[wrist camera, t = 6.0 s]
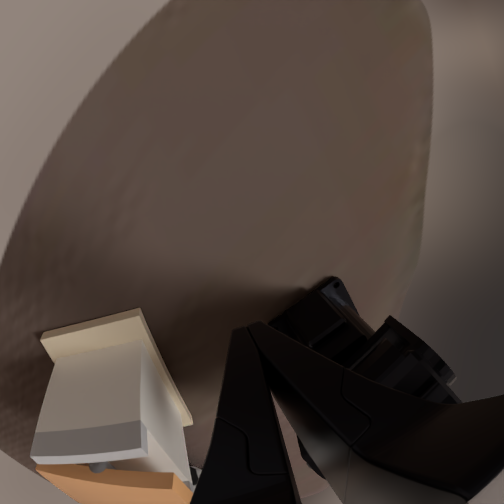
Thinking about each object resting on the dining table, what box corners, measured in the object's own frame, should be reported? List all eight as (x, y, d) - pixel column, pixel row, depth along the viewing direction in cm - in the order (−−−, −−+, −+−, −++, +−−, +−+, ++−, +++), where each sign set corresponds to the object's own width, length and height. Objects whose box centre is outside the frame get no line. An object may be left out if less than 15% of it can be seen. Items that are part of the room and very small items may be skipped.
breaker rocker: (175, 459, 13) (172, 489, 11) (203, 492, 15) (202, 516, 13) (43, 447, 13) (35, 469, 11) (83, 483, 15) (78, 502, 13)
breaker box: (140, 307, 20) (134, 425, 11) (191, 416, 25) (211, 511, 16) (43, 332, 18) (3, 436, 10) (112, 431, 23) (112, 522, 14)
